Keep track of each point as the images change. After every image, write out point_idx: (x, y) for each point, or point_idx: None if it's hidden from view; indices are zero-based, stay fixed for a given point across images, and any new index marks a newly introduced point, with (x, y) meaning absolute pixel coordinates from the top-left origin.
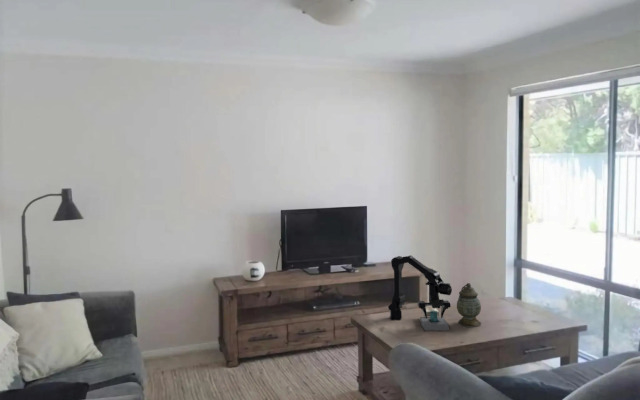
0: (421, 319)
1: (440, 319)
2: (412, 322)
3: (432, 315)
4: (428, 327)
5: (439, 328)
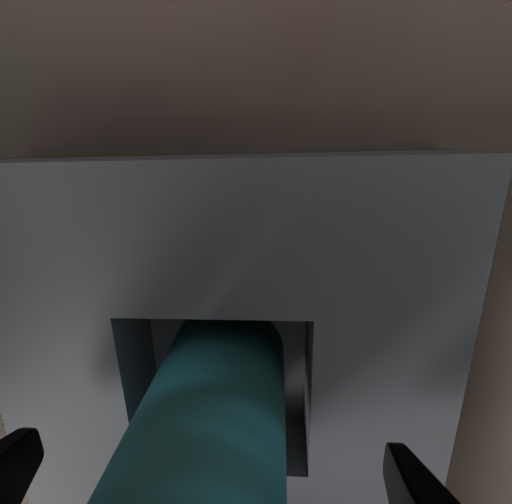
0: (446, 476)
1: (87, 445)
2: (498, 492)
3: (238, 485)
4: (381, 152)
5: (159, 156)
